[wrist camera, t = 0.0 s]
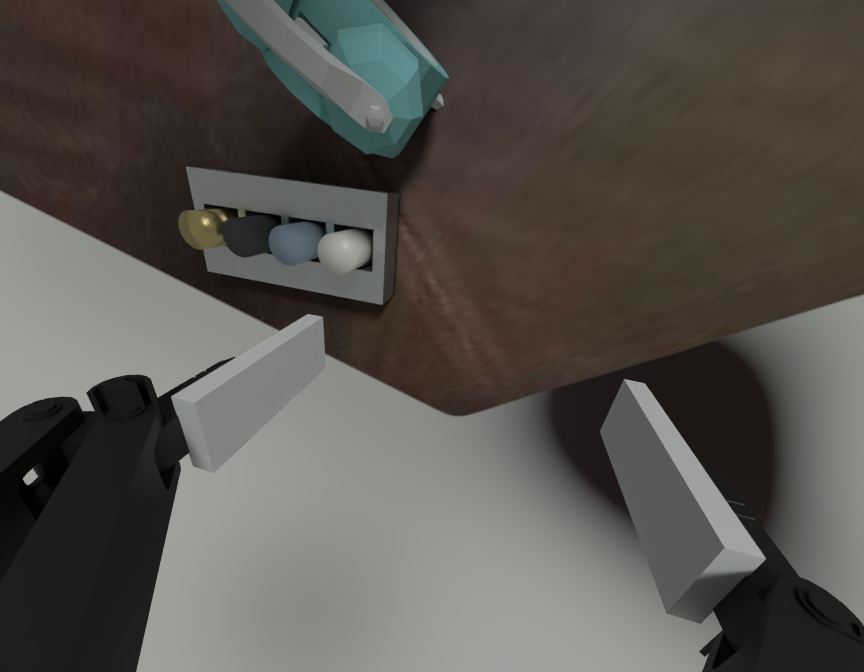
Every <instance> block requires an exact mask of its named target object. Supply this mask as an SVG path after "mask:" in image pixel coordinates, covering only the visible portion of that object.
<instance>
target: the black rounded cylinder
mask: <svg viewBox="0 0 864 672" xmlns="http://www.w3.org/2000/svg"><path fill="white" fill-rule="evenodd" d="M279 225H282V224H281V218H280V217H279V216H277V215H274V214H266V215H255V216H245V217H234V218H229V219H228V220H226V221H225V223H224V225H223V229H222V233H223V238H224V241H225V243H226V245H227V247H228V248H229V249H230V250H231V251H232V252H233V253H234V254H235V255H237V256H239V257H243V258H247V257H251V256H255V255H259V254H263V253H267V252H271V250H270V246H269V235H270V232H271V231H272V229H273V228H275V227H276V226H279Z"/></svg>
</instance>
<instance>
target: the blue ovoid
mask: <svg viewBox="0 0 864 672" xmlns="http://www.w3.org/2000/svg"><path fill="white" fill-rule="evenodd" d="M325 235H326V226H325V225H324V224H322V223H320V222H318V221H306V222H299V223H293V224H286V225H279V226H276V227H275V228H273V229H272V231H271V232H270V235H269V246H270V250H271V252H272V254H273V255H274V257H275V258H276V259H277V260H278V261H279V262H281V263H282V264H284V265H287V266H294V265H298V264H300V263H303V262H306V261H309V260H312V259H315V258H318V244H319V241H320V240H321V239H322V237H324V236H325Z"/></svg>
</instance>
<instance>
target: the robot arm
mask: <svg viewBox="0 0 864 672" xmlns="http://www.w3.org/2000/svg"><path fill="white" fill-rule="evenodd" d="M324 368H325V349H324V328H323V317H320V316H315V315H310V314H307V315H306V316H304V317H302V318H301V319H299V320H297V321H296V322H294V323H292V324H291V325H289V326H287V327H286V328H284V329H282V330H281V331H279V332H277V333H276V334H274V335H272V336H271V337H269V338H267V339H266V340H264V341H262V342H261V343H259V344H257V345H256V346H254V347H253V348H251V349H249V350H248V351H246V352H244V353H243V354H241V355H239V356H238V357H233V358H230V359H227V360H224V361H221V362H218V363H217V364H215V365H213V366H211V367H210V368H208V369H206V371H203V372H201V373H199V374H198V375H196V377H195V378H194V377H193V378H191V379H189V380H187V381H186V382H184V383H182V384H181V385H179V386H177V387H175V388H174V389H172V390H170V391H169V392H167V393H165V394H164V395H162V396H160V397H158V398H157V396H156V393H155V390H154V387H153V384H152V381H151V379H150V378H148V377H147V376H143V375H126V376H120V377H116V378H112V379H109V380H106V381H103V382H101V383H99V384H98V385H96V386H94V387H92V388H91V389H90V390H89V391H88V392H87V395H88V397H89V400H90V401H91V404H92V406H93V408H94V410H95V411H82V409H81V407H80V405H79V403H78V401H77V400H76V399H74V398H72V397H55V398H47V399H44V400H39V401H36V402H33V403H32V404H29V405H26V406H24V407H22V408H20V409H18V410H16V411H15V412H13V413H11V414H10V415H8V416H7V417H6V418H5V419H3V420H1V421H0V672H136V670H137V665H138V661H139V656H140V652H141V647H142V643H143V638H144V633H145V629H146V624H147V620H148V615H149V611H150V606H151V602H152V598H153V593H154V588H155V584H156V579H157V575H158V570H159V566H160V561H161V556H162V552H163V548H164V543H165V539H166V534H167V530H168V525H169V521H170V516H171V512H172V507H173V503H174V498H175V494H176V489H177V485H178V480H179V476H180V471H181V467H180V462H179V460H181V459H182V458H183V457H184V456H185V455H187V454H188V453H189V454H190V458H191V461H192V464H193V466H194V467H197V468H201V469H203V470H207V471H210V472H215V471H216V470H217V469H218V468H219V467H220V466H222V465H223V463H225V462H226V461H227V460H228V459H229V458H230V457H231V456H232V455H233V454H234V453H235V452H236V451H237V450H238V449H239V448H241V447H242V446H243V445H244V444H245V443H246V442H247V441H248V440H249V439H250V438H251V437H252V436H253V435H254V434H255V433H257V432H258V430H260V429H261V428H262V427H263V426H264V425H265V424H266V423H267V422H268V421H269V420H270V419H271V418H272V417H273V416H274V415H275V414H277V413H278V412H279V410H281V409H282V408H283V407H284V406H285V405H286V404H287V403H288V402H289V401H290V400H291V399H292V398H294V397H295V396H296V395H297V394H298V393H299V392H300V391H301V390H302V389H303V388H304V387H305V386H306V385H307V384H308V383H309V382H310V381H312V379H314V378H315V377H316V376H317V375H318V374H319V373H320V372H321V371H322V370H323V369H324ZM600 433H601V435H602V438H603V441H604V444H605V446H606V449H607V452H608V454H609V457H610V460H611V463H612V466H613V468H614V471H615V474H616V476H617V479H618V482H619V485H620V487H621V490H622V493H623V495H624V498H625V501H626V504H627V506H628V509H629V512H630V514H631V517H632V520H633V523H634V526H635V528H636V531H637V534H638V536H639V539H640V542H641V544H642V547H643V550H644V553H645V555H646V558H647V561H648V564H649V566H650V569H651V571H652V575H653V577H654V580H655V583H656V585H657V588H658V591H659V594H660V596H661V599H662V602H663V605H664V607H665V610H666V613H668V614H671V615H675V616H678V617H681V618H684V619H688V620H690V621H694V622H697V623H700V624H701V623H702V622H703V621H704V620H705V619H706V617H708V616H709V615H710V614H711V613H712V612H713V611H714V613H715V615H716V617H717V619H718V621H719V623H720V625H721V627H722V629H723V630H722V631H721V632H720V633H719V634H718V635H717V636H716V637H714V638H713V639H712V640H711V641H710V642H709V643H708V644H707V645H706V646H704V647H703V649H702V650H700V653H701V654H702V655H704V656H706V655H707V654H709V655H708V658H707V661H706V663H705V666H704V669H703V671H702V672H864V626H863V624H862V623H861V621H860V620H859V619H858V618H857V617H856V616H855V615H854V614H853V613H852V612H851V611H850V610H849V609H848V608H847V607H846V606H845V605H844V604H843V603H842V602H840V601H839V600H838V599H836V598H835V597H834V596H832V595H831V594H830V593H829V592H827V591H826V590H824V589H823V588H821V587H819V586H817V585H816V584H814V583H812V582H810V581H809V580H806V579H803V578H800V577H799V576H798V574H797V573H796V572H795V570H794V569H793V568H792V566H791V565H790V564H789V562H788V561H787V559H786V558H785V557H784V555H783V554H782V553H781V551H780V550H779V549H778V548H777V546H776V545H775V543H774V542H773V541H772V539H771V538H770V537H769V535H768V534H767V533H766V531H765V530H764V529H763V527H762V526H761V525H760V523H759V522H758V521H755V517H754V516H753V514H752V513H751V511H750V510H749V509H748V507H745V503H744V502H743V501H742V499H741V498H740V497H739V495H738V494H737V493H736V491H735V490H734V488H733V487H732V486H731V485H730V484H729V483H727V482H726V481H725V480H724V479H723V478H722V477H721V476H719V475H718V474H717V473H716V472H715V471H713V470H709V469H704V468H703V467H702V466H701V464H700V463H699V461H698V460H697V458H696V457H695V455H694V454H693V452H692V451H691V450H690V448H689V447H688V445H687V444H686V442H685V441H684V439H683V438H682V437H681V435H680V434H679V432H678V431H677V429H676V428H675V426H674V425H673V423H672V422H671V421H670V419H669V418H668V416H667V415H666V413H665V412H664V410H663V409H662V408H661V406H660V405H659V403H658V402H657V400H656V399H655V398H654V396H653V395H652V393H651V392H650V390H649V389H648V388H647V386H646V384H645V383H640V382H635V381H629V380H625V379H624V381H623V383H622V385H621V387H620V390H619V392H618V394H617V396H616V398H615V400H614V403H613V405H612V407H611V409H610V411H609V413H608V416H607V418H606V420H605V422H604V424H603V426H602V428H601V431H600ZM32 468H33V469H34V471H35V473H36V474H37V475H38V478H36V479H35V480H34V482H32V483H31V484H30V485H26V484H25V482H24V481H23V477H24V476H25V475H26V474H27V473H28V472H29V471H30V470H31V469H32Z"/></svg>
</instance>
